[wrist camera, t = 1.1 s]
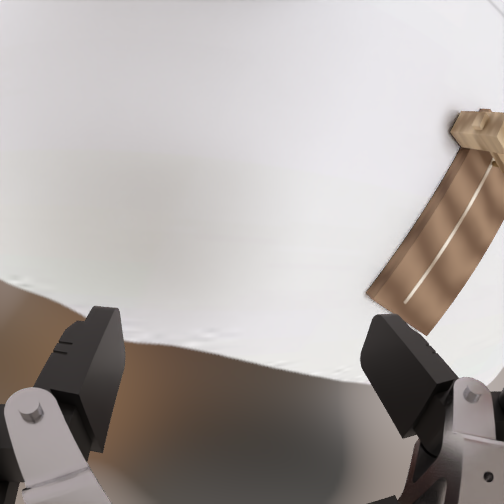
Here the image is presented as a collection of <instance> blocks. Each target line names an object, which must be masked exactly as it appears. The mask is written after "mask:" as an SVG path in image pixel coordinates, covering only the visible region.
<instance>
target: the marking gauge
mask: <svg viewBox="0 0 504 504" xmlns="http://www.w3.org/2000/svg"><path fill="white" fill-rule="evenodd" d="M450 133H451V134H452V135H453V137H454V138H455V139H456V140H457V142H458V143H459V144H460V146H461V147H464V148H470V149H477V150H483V151H489V152H490V153H491V155H492V157H493V158H494V160H495V161H492V166H494V167H499V168H500V170H501V171H502V173H504V113H500V112H475V111H461V113H460V115H459V116H458V118H457V120H456V122H455V124H454V126H453V128H452V129H451V131H450Z"/></svg>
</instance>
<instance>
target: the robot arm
mask: <svg viewBox="0 0 504 504" xmlns="http://www.w3.org/2000/svg"><path fill="white" fill-rule="evenodd" d="M360 362H361V367H362V369H363V371H364V373H365V374H366V376H367V378H368V379H369V381H370V383H371V385H372V386H373V388H374V390H375V391H376V393H377V395H378V396H379V398H380V400H381V402H382V403H383V405H384V407H385V409H386V410H387V412H388V414H389V416H390V417H391V419H392V421H393V423H394V424H395V426H396V428H397V429H398V431H399V433H400V435H401V436H402V438H407V437H410V436H414V435H417V436H418V437H419V439H418V440H417V441H416V443H415V445H414V449H413V454H412V459H411V463H410V468H409V472H408V476H407V480H406V484H405V487H404V490H403V493H402V494H401V496H400V497H399V499H398V500H397V499H396V496H395V495H394V496H391V497H388V498H385V499H381V500H378V501H375V502H372V503H368V504H504V388H503V390H502V391H501V392H490V391H489V389H488V388H487V387H486V386H485V385H484V384H483V383H482V382H480V381H478V380H476V379H474V378H470V377H462V378H458V377H457V375H456V374H455V373H454V372H453V371H452V370H451V368H450V367H449V366H448V365H447V364H446V363H445V361H444V360H443V359H442V358H441V357H440V356H439V355H438V353H436V351H435V350H434V349H433V348H432V347H431V346H429V343H428V342H427V341H426V340H425V339H424V338H423V337H422V336H421V335H420V334H419V333H417V332H416V331H414V330H413V329H411V328H410V327H409V326H408V325H407V324H406V322H405V321H404V320H403V319H402V318H401V317H400V316H399V315H398V314H378V315H375V316H374V317H373V319H372V322H371V325H370V328H369V331H368V334H367V337H366V339H365V342H364V345H363V348H362V351H361V356H360ZM124 366H125V347H124V340H123V333H122V325H121V318H120V312H119V309H118V308H111V307H101V306H94V307H93V308H92V309H91V311H90V313H89V314H88V316H87V318H86V320H85V321H76V322H75V323H74V324H72V325H71V326H70V327H68V328H67V329H66V330H65V331H64V333H63V335H62V336H61V338H60V340H59V343H57V345H56V346H55V348H54V350H53V353H51V355H50V357H49V359H48V361H47V362H46V364H45V366H44V368H43V370H42V371H41V373H40V375H39V377H38V379H37V381H36V383H35V385H34V386H33V387H32V388H25V389H22V390H19V391H18V392H16V393H14V394H13V395H12V396H11V397H10V398H9V399H8V401H7V403H6V404H0V504H15V500H16V495H17V491H18V487H19V483H20V482H25V484H26V488H25V489H23V490H22V495H23V499H24V502H25V504H112V502H111V501H110V499H109V498H108V496H107V495H106V493H105V492H104V490H103V489H102V487H101V485H100V484H99V482H98V480H97V479H96V477H95V476H94V474H93V472H92V470H91V469H90V467H89V465H88V464H87V461H88V457H89V453H90V451H94V452H100V453H103V450H104V445H105V441H106V436H107V431H108V428H109V423H110V419H111V416H112V412H113V407H114V404H115V400H116V396H117V392H118V389H119V385H120V381H121V378H122V374H123V371H124Z"/></svg>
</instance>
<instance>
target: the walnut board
mask: <svg viewBox="0 0 504 504" xmlns="http://www.w3.org/2000/svg"><path fill="white" fill-rule="evenodd" d="M479 112H492V111H491V110H490V109H480V111H479ZM492 161H495V160H494V158H493V157H492V155H491V153H490V152H489V151H483V150H477V149H470V148H464V147H461V148H460V150H459V152H458V154H457V155H456V157H455V159H454V161H453V163H452V164H451V166H450V168H449V170H448V171H447V173H446V175H445V177H444V178H443V180H442V182H441V183H440V185H439V187H438V188H437V190H436V192H435V193H434V195H433V196H432V198H431V200H430V201H429V203H428V204H427V206H426V208H425V209H424V211H423V212H422V214H421V215H420V217H419V219H418V220H417V222H416V223H415V225H414V226H413V228H412V229H411V231H410V232H409V234H408V235H407V237H406V238H405V240H404V241H403V242H402V244H401V245H400V247H399V248H398V250H397V251H396V252H395V254H394V255H393V257H392V258H391V260H390V261H389V262H388V264H387V265H386V266H385V268H384V269H383V271H382V272H381V273H380V275H379V276H378V277H377V279H376V280H375V281H374V283H373V284H372V285H371V287H370V288H369V289H368V291H367V292H366V293H367V294H368V295H369V296H370V297H371V298H372V299H373V300H374V301H376V302H377V303H379V304H380V305H382V306H383V307H385V308H386V309H388V310H389V311H390V312H392V313H393V314H398V315H399V316H400V317H401V318H402V319H403V320H404V321H405V322H407V323H408V324H410V325H411V326H413V327H414V328H416V329H417V330H418V331H420V332H421V333H423V334H424V335H426V336H427V335H428V334H429V333H430V331H431V330H432V329H433V328H434V326H435V325H436V324H437V323H438V321H439V320H440V319H441V317H442V316H443V315H444V313H445V312H446V311H447V309H448V308H449V307H450V305H451V304H452V302H453V301H454V300H455V298H456V297H457V295H458V294H459V292H460V291H461V290H462V288H463V287H464V285H465V284H466V282H467V281H468V279H469V278H470V276H471V275H472V273H473V272H474V270H475V268H476V267H477V265H478V264H479V262H480V260H481V259H482V257H483V256H484V254H485V252H486V251H487V249H488V247H489V245H490V244H491V242H492V240H493V238H494V237H495V235H496V233H497V231H498V229H499V228H500V226H501V224H502V222H503V220H504V173H502V171H501V170H500V168H499V167H494V166H492Z"/></svg>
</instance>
